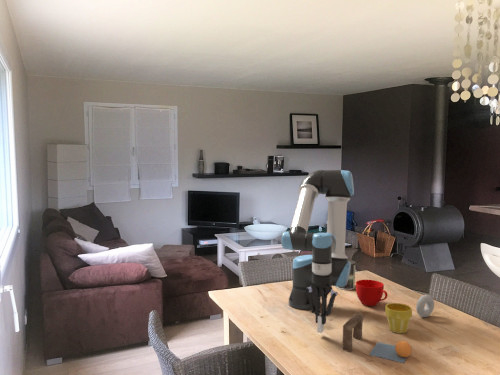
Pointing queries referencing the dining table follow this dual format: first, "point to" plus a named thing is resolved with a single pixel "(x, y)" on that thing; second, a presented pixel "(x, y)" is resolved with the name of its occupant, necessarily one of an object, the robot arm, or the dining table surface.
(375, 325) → the dining table surface
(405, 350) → the ball
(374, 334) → the dining table surface
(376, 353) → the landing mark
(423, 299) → the donut
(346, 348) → the bridge
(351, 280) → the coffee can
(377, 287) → the ceramic cup
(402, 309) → the plant pot
